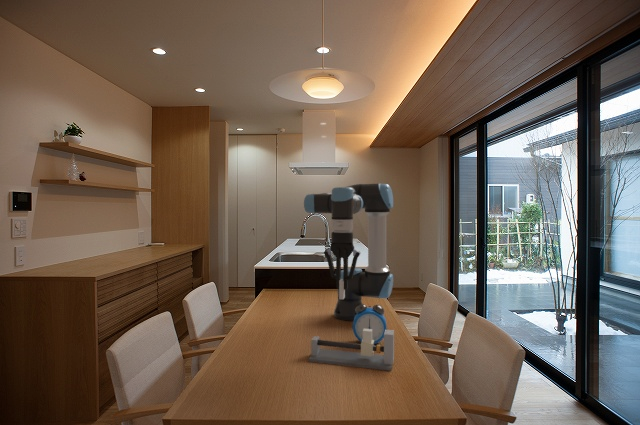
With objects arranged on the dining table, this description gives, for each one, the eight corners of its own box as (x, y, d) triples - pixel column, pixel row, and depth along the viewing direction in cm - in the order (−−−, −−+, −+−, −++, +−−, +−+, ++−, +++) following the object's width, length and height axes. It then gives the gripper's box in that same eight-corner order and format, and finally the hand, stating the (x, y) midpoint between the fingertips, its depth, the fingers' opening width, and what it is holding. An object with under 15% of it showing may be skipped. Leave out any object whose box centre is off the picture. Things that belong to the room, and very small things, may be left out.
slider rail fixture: (316, 350, 139) (316, 321, 139) (394, 359, 131) (394, 328, 131) (308, 361, 129) (308, 329, 129) (392, 371, 122) (392, 337, 122)
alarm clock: (352, 344, 146) (352, 306, 145) (353, 338, 152) (353, 302, 151) (386, 346, 144) (386, 307, 143) (386, 340, 150) (386, 303, 149)
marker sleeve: (362, 350, 131) (362, 327, 131) (373, 351, 130) (374, 328, 130) (360, 355, 127) (360, 331, 127) (372, 356, 126) (372, 332, 126)
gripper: (321, 232, 129) (321, 299, 129) (359, 232, 125) (358, 302, 126) (326, 230, 136) (326, 294, 137) (362, 231, 133) (362, 296, 133)
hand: (342, 298), depth 131 cm, fingers closed
